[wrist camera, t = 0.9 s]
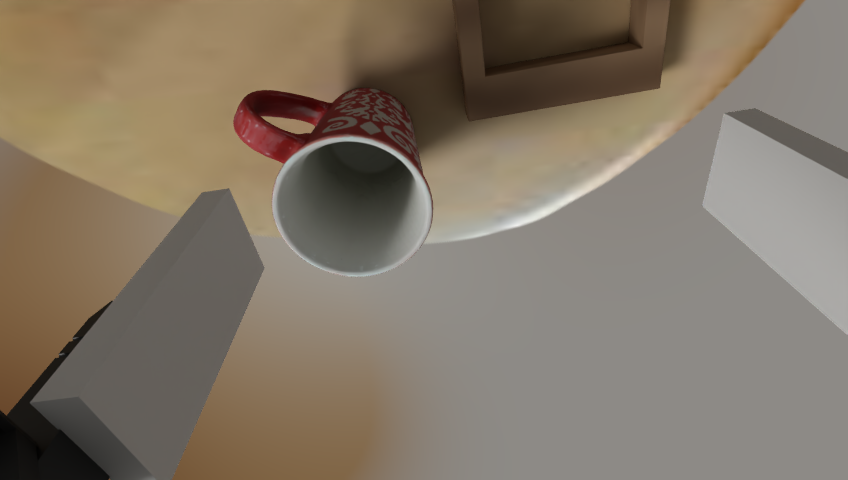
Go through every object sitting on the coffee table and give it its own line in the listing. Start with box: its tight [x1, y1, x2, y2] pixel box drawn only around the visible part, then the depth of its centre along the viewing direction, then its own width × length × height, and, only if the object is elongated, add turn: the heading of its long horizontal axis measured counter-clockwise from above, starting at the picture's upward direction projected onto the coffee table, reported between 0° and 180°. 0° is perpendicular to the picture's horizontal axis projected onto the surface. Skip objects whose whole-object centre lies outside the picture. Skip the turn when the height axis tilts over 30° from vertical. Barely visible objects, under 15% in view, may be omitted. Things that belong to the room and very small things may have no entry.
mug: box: [234, 88, 433, 277], centre depth 30 cm, size 13×9×14 cm
